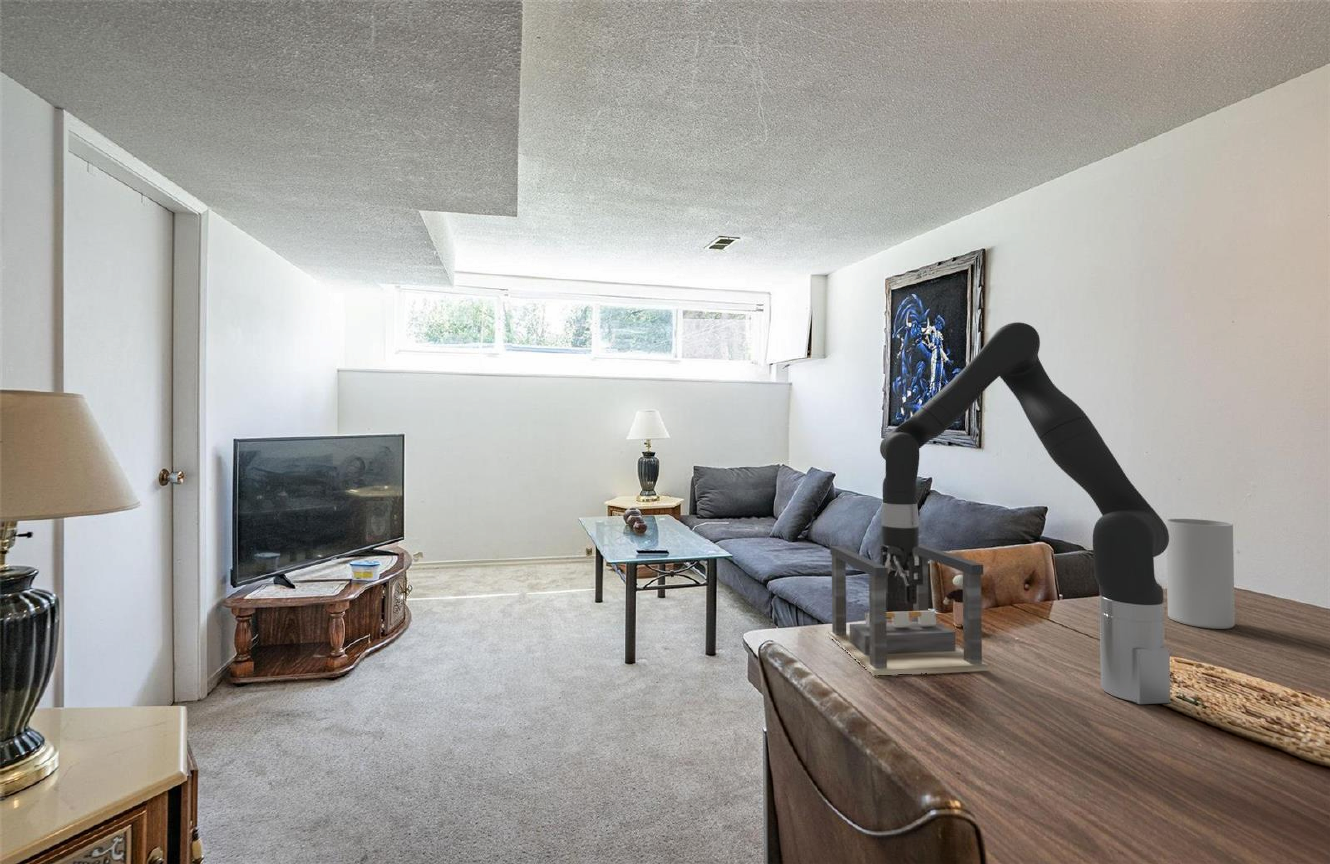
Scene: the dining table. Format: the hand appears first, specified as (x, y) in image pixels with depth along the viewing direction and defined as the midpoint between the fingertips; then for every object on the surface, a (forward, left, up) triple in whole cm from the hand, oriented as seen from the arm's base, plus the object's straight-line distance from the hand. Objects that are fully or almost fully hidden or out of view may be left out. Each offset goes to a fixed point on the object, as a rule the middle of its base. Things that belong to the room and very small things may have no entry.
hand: (900, 598), depth 131 cm
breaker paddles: (0, 0, -6) cm, 6 cm away
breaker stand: (0, 0, -12) cm, 12 cm away
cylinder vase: (+11, -84, -12) cm, 86 cm away
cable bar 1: (0, +10, +8) cm, 12 cm away
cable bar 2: (0, -10, +8) cm, 13 cm away
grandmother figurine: (+15, -23, -12) cm, 30 cm away
